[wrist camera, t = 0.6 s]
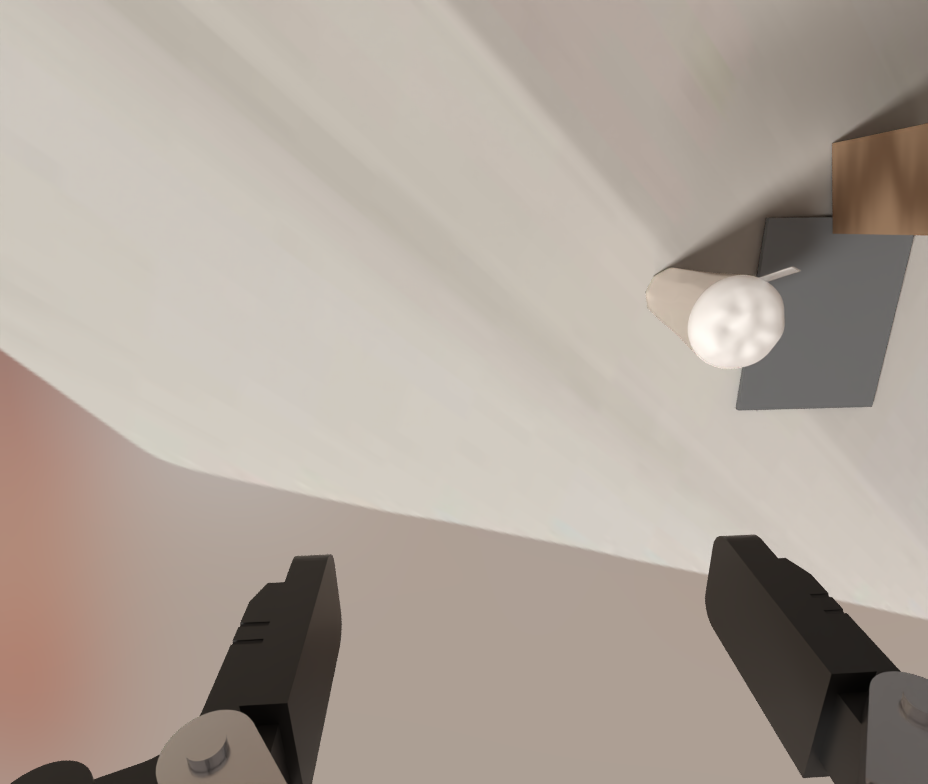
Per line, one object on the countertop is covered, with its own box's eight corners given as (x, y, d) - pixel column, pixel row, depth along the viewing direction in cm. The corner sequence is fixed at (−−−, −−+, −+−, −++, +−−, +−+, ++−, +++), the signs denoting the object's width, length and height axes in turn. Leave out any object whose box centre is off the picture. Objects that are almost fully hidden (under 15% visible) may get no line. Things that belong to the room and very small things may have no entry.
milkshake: (729, 261, 34) (840, 289, 25) (683, 341, 36) (771, 396, 27) (665, 230, 34) (754, 246, 24) (620, 313, 35) (688, 358, 26)
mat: (766, 217, 34) (769, 218, 33) (914, 216, 34) (918, 216, 34) (735, 408, 38) (737, 410, 37) (868, 405, 38) (871, 406, 38)
